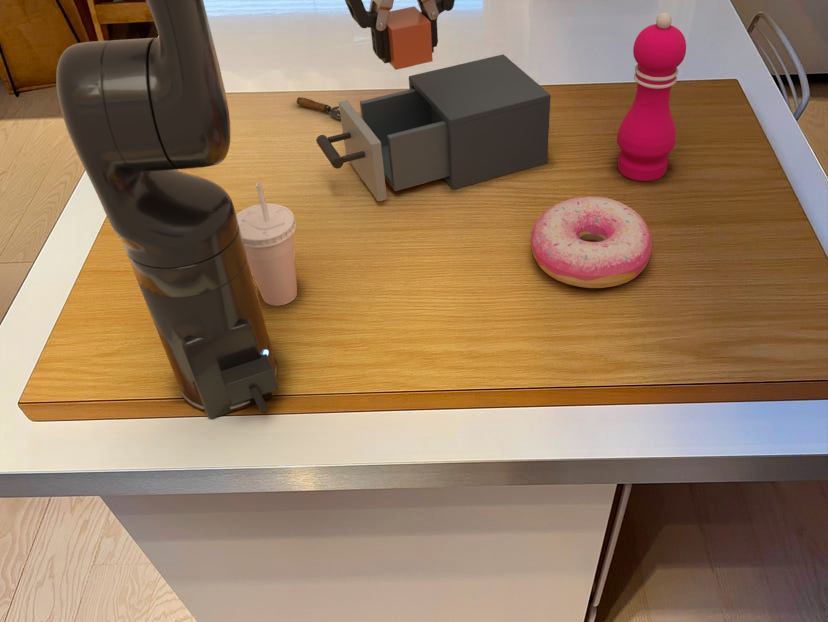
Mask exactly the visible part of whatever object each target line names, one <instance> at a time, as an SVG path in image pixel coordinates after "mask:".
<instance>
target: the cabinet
mask: <svg viewBox="0 0 828 622" xmlns="http://www.w3.org/2000/svg"><path fill="white" fill-rule="evenodd" d="M408 88H409V89H408V90H410V89H414V88H415V89H416V90H417V91H418V92H419V93H420V94H421V95H422V96H423V97H424V98H425V99H426V101H427V102H428V103H429V104H430V105H431V106H432V107H433V108H434V109H435V110H436V111H437V112H438V113H439V115H440V116H441V117H442V118H443V119H444V120H445V121H446V122H447V123H448V143H449V167H450V176H448V177H445V178H442V179H443V180H444V182H445V183H446V184H447V185H448V186H449V187H450V188H451V190H452V191H453V190H457V189H461V188H464V187H465V188H466V187H468V186H471V185H476V184H479V183H482V182H486V181H489V180H492V179H493V180H494V179H497V178H500V177H503V176H507V175H511V174H514V173H518V172H521V171H525V170H528V169H531V168H535V167H539V166H542V165H546V164H548V152H549V151H548V149H549V136H550V135H549V132H550V115H551V95H552V94H551V93H549V92H548V91H547V90H546V89H545V88H544V87H542V86H541V84H539V83H538V82H537V81H536V80H534V79H533V78H532V77H530V75H528V74H527V73H526V72H525V71H523V70H522V68H520V67H519V66H518V65H517V64H515V63H514V62H513V61H512V60H511V59H510V58H509V57H508V56H506V55H505V54H503V53H502V54H497V55H495V56H489V57H486V58H482V59H481V58H480V59H477V60H473V61H468V62H464V63H461V64H460V63H459V64H455V65H451V66H447V67H443V68H442V67H441V68H437V69H434V70H429V71H426V72H421V73H417V74H412V75H409V76H408Z"/></svg>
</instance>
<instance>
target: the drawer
mask: <svg viewBox="0 0 828 622" xmlns="http://www.w3.org/2000/svg"><path fill="white" fill-rule="evenodd" d="M338 106H339V108H338V110H340V114H339V115H340V116H341V119H340V122H341V128H342V129H341V130H342V133H338V134H335V135H331V136H328V137H327V135H325V134H320V135H317V137H316V141H315V142H316V144H317V146H318V147H319V148H320V150H321V151H322V153H323V154H324V155H325V157H326V158H327V160H328V161H329V164H331V166H332V167H333V168H334V169H341V168H342V167H343V165H344V163H350V165H351V166H352V168H354V170H355V171H356V173H357V174H358V176H359V177H360V179H361V180H362V181H363V182H364V184H365V186H366V187H367V188H368V190H369V191H370V192H371V194H372V195H373V197H374V198H375V199H376V201H377V202H381V201H386V200H387V199H388V196H387V195H388V194H387V185H386V182H387V183H388V184H389V186H390V187H391V188H392V190H393V191H394V192H397V191H401V190H404V189H405V190H406V189H409V188H412V187H416V186H419V185H423V184H426V183H430V182H433V181H437V180H440V179H443V178H445V177H448V176H450V167H449V143H448V123H447V122H446V121H445V120H444V119H443V118H442V117H441V116H440V115H439V113H438V112H437V111H436V110H435V109H434V108H433V107H432V106H431V105H430V104H429V103H428V102H427V101H426V99H425V98H424V97H423V96H422V95H421V94H420V93H419V92H418V91H417V90H416V89H415V88H414V89H405V90H401V91H398V92H394V93H389V94H385V95H381V96H377V97H373V98H367V99H364V100H359V107H360V114H359V113H358V112H357V110H356V109H355V108H354V106H353V105H352V104H351V103H350V101H349V100H348V99H346V100H345V99H344V100H340V101H338ZM342 141H343V144H344V150H345V155H343V156H341V155H340V154H339V152H338V151H337V149H336V148H335V147H334V145H333V143H336V142H337V143H338V142H342Z"/></svg>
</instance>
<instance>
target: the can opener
mask: <svg viewBox="0 0 828 622" xmlns="http://www.w3.org/2000/svg"><path fill="white" fill-rule="evenodd" d="M296 104H297V105H300V106H302V107H305V108H308V109H312V110H318V111H321V112H324V113H329V116H330V117H332V118H334V119H338V120H341V116H340V109H339V105H337V106H334V107H331V106H330V105H328V104H325V103H321V102H318V101H315V100H313V99H310V98H307V97H301V96H298V97H297V98H296Z"/></svg>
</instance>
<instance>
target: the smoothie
mask: <svg viewBox="0 0 828 622" xmlns="http://www.w3.org/2000/svg"><path fill="white" fill-rule="evenodd" d="M255 187H256V192H257V196H258V200H259V203H257V204H254V205H251V206H248V207H246V208H244V209H241V210H240V211H239V212H238V213H236V216H237V220H238V224H239V228H240V232H241V236H242V239H243V243H244V247H245V251H246V255H247V259H248V262H249V266H250V270H251V274H252V277H253V280H254V281H255V283H256V286H257V288H258V290H259V293H260V296H261V297H262V300H263V301H264V303H266V304H267V305H271V306H275V307H276V306H277V307H279V306H284V305H288V304H289V303H291V302H293V301H294V300H296V297H297V295H298V285H297V283H298V282H297V268H296V251H295V234H294V233H295V231H296V229H297V221H296V220H295V215H294V213H293V212H292V210H291V209H290V208H288V207H286V206H284V205H281V204H277V203H269V202H268V203H267V201H266V196H265V192H264V188H263V183H262V182H256V183H255Z"/></svg>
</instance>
